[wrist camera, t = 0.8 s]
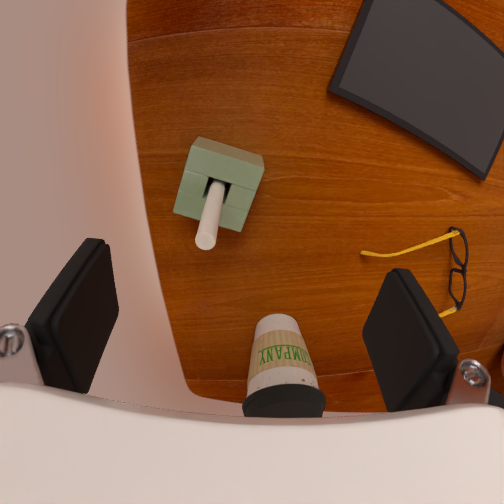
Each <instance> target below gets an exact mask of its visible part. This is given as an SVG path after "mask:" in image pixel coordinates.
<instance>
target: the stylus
mask: <svg viewBox="0 0 504 504" xmlns="http://www.w3.org/2000/svg"><path fill="white" fill-rule="evenodd" d="M225 185H226V182H225V181H222V180H219V179H215V178H213V179H212V183H211V186H210V189H209V193H208V196H207V200H206V203H205V206H204V210H203V213H202V217H201V220H200V224H199V227H198V231H197V234H196V238H195V243H196V245H197V246H198V247H199V248H200V249H202V250H210V249H212V248H213V247H214V246H215V244H216V238H217V232H218V226H219V220H220V214H221V208H222V202H223V196H224V191H225Z"/></svg>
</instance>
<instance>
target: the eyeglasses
mask: <svg viewBox="0 0 504 504" xmlns="http://www.w3.org/2000/svg"><path fill="white" fill-rule="evenodd" d="M451 229H453V230H455V231H453V232H452V231H451ZM459 234H460V235H461V236H462V238H463V239H464V242H465V248H466V259H465V263H464V265H463V264H462V263H461V261H460V260H459V258H458V257H457V255H456V254H455V252H454V250H453V244H452V237H454V236H456V235H459ZM448 238H450V246H451V251H452V253H453V257H454V261H455V263H456V264H458V265H459V266H461V267H462V270H460V269H457V268H453V269H451V272H450V283H449V292H450V295H451V297H452V298H453V300H454V301H455V303H456V306H455V307H453V308H451V309H449V310H446V311H444V312H442V313H440V314H438V315H439V316H440V318H441V317H443V316H446V315H448V314H451V313H453V312H455V311H458V310H460V309H461V307H462V305H463V302H464V299H465V296H466V288H467V283H466V272H467V270H466V267H467V263H468V244H467V239H466V236H465V234H464V231H463V230H462V229H458V228H456V227H453V226H451V227H450V228H449V233H448V234H445V235H443V236H441V237H438V238H436V239H433V240H430V241H428V242H425V243H422V244H420V245H417V246H414V247H411V248H409V249H406V250H403V251H400V252H398V253H393V254H377V253H373V252H369V251H361V252H360V253H361V254H362V255H368V256H377V257H393V256H397V255H401V254H404V253H407V252H410V251H413V250H416V249H419V248H422V247H425V246H428V245H431V244H434V243H437V242H440V241H443V240H446V239H448ZM453 270H454V271H455V272H458V273H461V274H462V275H463V280H464V293H463V298H462V301H461V303H460V302H459V301H458V300H457V299H456V298H455V297H454V296H453V294H452V291H451V285H452V273H453Z"/></svg>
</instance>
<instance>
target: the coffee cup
mask: <svg viewBox="0 0 504 504" xmlns="http://www.w3.org/2000/svg"><path fill="white" fill-rule="evenodd" d="M247 391H248V393H247V398H246V399H245V400H244V402H243V405H242V409H243V413H244V416H245V417H260V418H322V414H323V411H324V409H325V406H326V397H325V395H324V393H323V392H322V391H320V390H319V387H318V380H317V377H316V374H315V371H314V368H313V365H312V362H311V359H310V356H309V353H308V350H307V347H306V344H305V342H304V339H303V338H302V336H301V333H300V330H299V327H298V324H297V322H296V320H295V319H294V318H292V317H291V316H288V315H285V314H272V315H268V316H266V317H264V318H262V319H261V320H260V321H259V322H258V323H257V325H256V329H255V337H254V343H253V345H252V352H251V360H250V367H249V374H248V382H247Z"/></svg>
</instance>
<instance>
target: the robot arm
mask: <svg viewBox="0 0 504 504" xmlns="http://www.w3.org/2000/svg"><path fill="white" fill-rule="evenodd" d="M118 312H119V306H118V301H117V294H116V288H115V282H114V275H113V268H112V261H111V254H110V247H109V245H108V244H105V242H104V240H103V239H94V238H87V239H85V241H84V242H83V243H82V245H81V246H80V247H79V248H78V250H77V251H76V252H75V254H74V255H73V256H72V258H71V259H70V260H69V261H68V263H67V264H66V265H65V267H64V268H63V269H62V271H61V272H60V273H59V275H58V276H57V278H56V279H55V280H54V282H53V283H52V284H51V286H50V287H49V289H48V290H47V291H46V293H45V295H44V296H43V297H42V299H41V300H40V302H39V303H38V305H37V306H36V308H35V309H34V311H33V312H32V314H31V315H30V317H29V318H28V321H27V323H26V324H25V326H22V325H19V324H12V323H11V324H6V325H3V326H1V327H0V504H504V396H503V395H501V394H500V393H498V392H497V391H495V390H493V389H492V388H490V386H491V377H490V374H489V372H488V370H487V369H486V367H485V366H484V365H483V364H482V363H481V362H479V361H478V360H476V359H473V358H470V357H465V358H462V359H460V360H459V361H458V360H457V358H456V357H457V355H458V354H459V353H460V351H459V349H458V347H457V345H456V344H455V342H454V340H453V338H452V337H451V335H450V333H449V331H448V330H447V328H446V326H445V325H444V323H443V321H442V320H441V318H440V316H439V315H438V313H437V311H436V310H435V308H434V307H433V305H432V303H431V302H430V300H429V299H428V297H427V295H426V294H425V292H424V291H423V289H422V288H421V286H420V285H419V283H418V282H417V280H416V279H415V277H414V276H413V274H412V273H411V271H410V270H408V269H400V268H394V269H392V270H391V272H388V273H387V275H386V277H385V279H384V282H383V284H382V286H381V289H380V291H379V294H378V296H377V298H376V301H375V303H374V305H373V307H372V310H371V312H370V314H369V316H368V319H367V321H366V323H365V325H364V327H363V332H362V335H363V339H364V342H365V345H366V348H367V351H368V354H369V356H370V359H371V362H372V365H373V368H374V371H375V374H376V377H377V380H378V383H379V386H380V389H381V393H382V396H383V399H384V402H385V405H386V408H387V411H388V412H390V413H381V414H371V415H359V416H344V417H323V418H260V417H236V416H223V415H211V414H200V413H191V412H183V411H175V410H167V409H160V408H153V407H147V406H141V405H135V404H129V403H125V402H119V401H114V400H108V399H104V398H99V397H94V396H90V395H85V394H87V393H88V391H89V389H90V386H91V383H92V380H93V378H94V375H95V372H96V370H97V367H98V364H99V362H100V359H101V357H102V354H103V352H104V349H105V347H106V344H107V341H108V339H109V336H110V334H111V332H112V329H113V327H114V324H115V322H116V320H117V317H118ZM83 393H85V394H83Z"/></svg>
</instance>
